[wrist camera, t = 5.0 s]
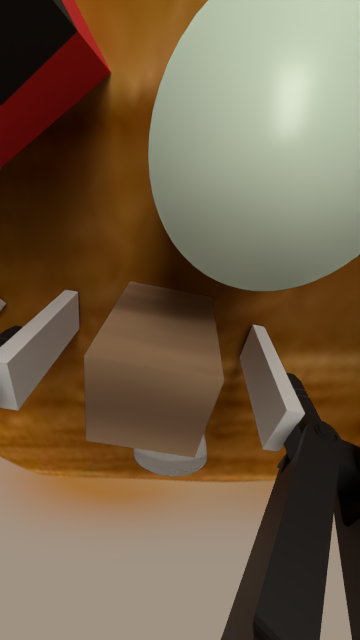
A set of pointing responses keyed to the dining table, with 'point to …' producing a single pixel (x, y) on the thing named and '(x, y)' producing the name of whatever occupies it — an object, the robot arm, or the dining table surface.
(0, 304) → the plate
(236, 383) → the dining table surface
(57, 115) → the puzzle toy
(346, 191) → the pale green egg
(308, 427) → the robot arm
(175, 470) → the grey tin
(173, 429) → the walnut block
